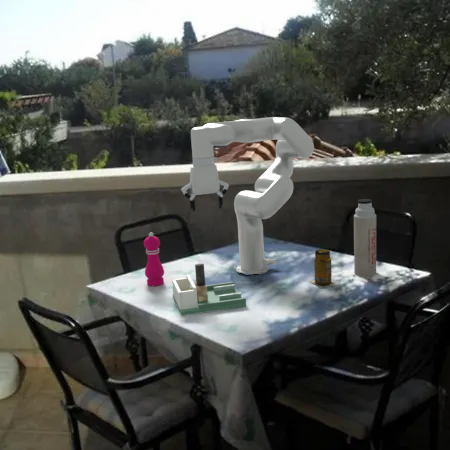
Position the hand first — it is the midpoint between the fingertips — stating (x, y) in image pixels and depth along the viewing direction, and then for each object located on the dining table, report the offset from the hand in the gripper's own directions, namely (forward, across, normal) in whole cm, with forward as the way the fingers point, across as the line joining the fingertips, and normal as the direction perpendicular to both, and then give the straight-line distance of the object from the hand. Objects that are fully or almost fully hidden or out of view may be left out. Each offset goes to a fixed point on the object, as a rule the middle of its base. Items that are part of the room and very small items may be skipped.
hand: (206, 209), depth 228 cm
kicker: (+27, +7, +18) cm, 33 cm away
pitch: (+28, +5, +18) cm, 34 cm away
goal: (+27, +13, +18) cm, 35 cm away
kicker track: (+27, -2, +18) cm, 33 cm away
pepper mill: (+28, +20, -8) cm, 36 cm away
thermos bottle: (+28, -56, +12) cm, 64 cm away
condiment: (+29, -38, +16) cm, 50 cm away
